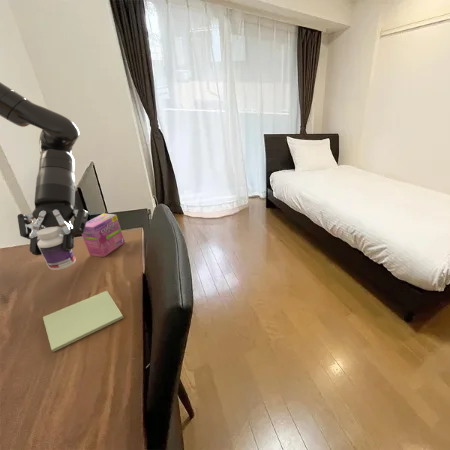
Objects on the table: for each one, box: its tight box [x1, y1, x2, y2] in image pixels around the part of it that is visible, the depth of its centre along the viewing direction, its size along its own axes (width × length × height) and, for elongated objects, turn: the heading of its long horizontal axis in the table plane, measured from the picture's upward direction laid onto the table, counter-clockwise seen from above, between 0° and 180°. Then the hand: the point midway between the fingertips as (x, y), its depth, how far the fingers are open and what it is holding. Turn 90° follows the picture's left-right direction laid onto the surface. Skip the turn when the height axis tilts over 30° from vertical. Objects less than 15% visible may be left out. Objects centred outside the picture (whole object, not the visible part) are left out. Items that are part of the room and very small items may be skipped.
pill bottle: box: [36, 226, 77, 271], centre depth 66 cm, size 5×5×10 cm
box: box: [81, 213, 126, 258], centre depth 96 cm, size 10×6×12 cm, turn 171°
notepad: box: [42, 290, 124, 353], centre depth 68 cm, size 14×14×1 cm
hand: (52, 252), depth 65 cm, fingers closed on pill bottle, 5 cm apart
